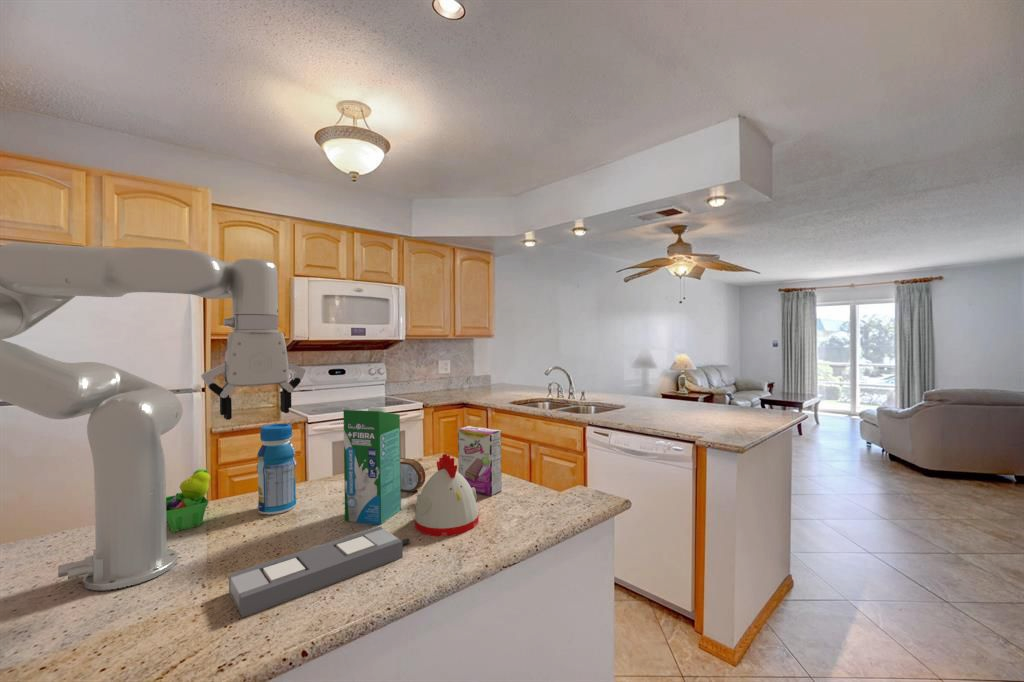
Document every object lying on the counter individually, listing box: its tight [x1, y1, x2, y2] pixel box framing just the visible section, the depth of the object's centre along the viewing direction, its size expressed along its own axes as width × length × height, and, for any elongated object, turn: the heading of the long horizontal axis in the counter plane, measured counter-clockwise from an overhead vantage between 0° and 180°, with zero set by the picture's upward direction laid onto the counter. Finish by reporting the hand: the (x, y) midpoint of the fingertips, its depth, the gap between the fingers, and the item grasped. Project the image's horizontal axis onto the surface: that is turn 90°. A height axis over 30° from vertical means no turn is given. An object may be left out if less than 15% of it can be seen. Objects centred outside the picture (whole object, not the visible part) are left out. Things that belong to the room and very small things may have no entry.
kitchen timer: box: [414, 453, 480, 537], centre depth 98 cm, size 14×14×15 cm
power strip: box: [228, 526, 411, 618], centre depth 78 cm, size 30×9×3 cm, turn 133°
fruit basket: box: [166, 468, 211, 533], centre depth 100 cm, size 11×9×11 cm
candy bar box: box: [457, 425, 502, 497], centre depth 118 cm, size 11×5×16 cm, turn 58°
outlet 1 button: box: [263, 558, 305, 583], centre depth 73 cm, size 5×5×2 cm
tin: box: [400, 457, 426, 493], centre depth 120 cm, size 15×3×8 cm, turn 68°
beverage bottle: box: [256, 423, 297, 516], centre depth 107 cm, size 8×8×20 cm
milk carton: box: [342, 406, 402, 526], centre depth 102 cm, size 9×9×25 cm
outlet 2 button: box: [336, 536, 375, 557], centre depth 81 cm, size 5×5×2 cm
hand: (257, 415), depth 84 cm, fingers open, 9 cm apart
